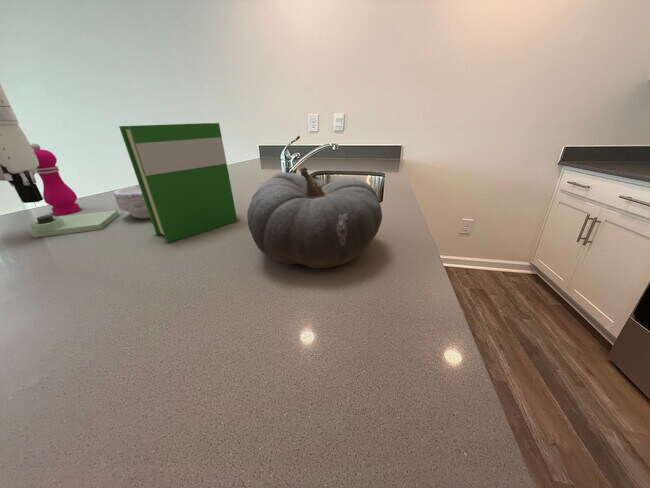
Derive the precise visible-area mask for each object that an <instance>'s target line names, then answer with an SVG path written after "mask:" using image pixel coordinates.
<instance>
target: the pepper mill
mask: <svg viewBox="0 0 650 488" xmlns="http://www.w3.org/2000/svg"><path fill="white" fill-rule="evenodd" d="M30 145H31V147H32V148H33V150H34V152H35V154H36V157H37V159H38V162H39V166H38V167H37V170H38V172H37V173H36V174H37V175H38V176H39V177H40V179H41V181H42V185H43V191H42V197H43V201H44V202H45V203H46V204H47V205H49V206H51V211H52V213H53V215H56V216H64V215H69V214H73V213H77V212H79V211H80V210H81V207H80V205H79V203H77V202H76V201H77V200H78V196H77V194H76V192H75V191H74V190H73V188H70V187H69V185H67V183H65V181H64V180H63V179H62V177H61V175H60V169H59V166H57V163H58V160H57V157H56V155H55V154H54V153H53V152H51V151H49V150H47V149H41V145H39V144H38V143H31V144H30Z"/></svg>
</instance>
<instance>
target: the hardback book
mask: <svg viewBox="0 0 650 488" xmlns="http://www.w3.org/2000/svg"><path fill="white" fill-rule="evenodd" d="M220 126H221V125H220V123H219V122H207V123H206V122H202V123H201V122H199V123H198V122H197V123H174V124H173V123H172V124H170V123H169V124H146V125H144V124H143V125H142V124H141V125H119V126H118V128H119V130H120V133H121V136H122V139H123V142H124V145H125V148H126V152H127V153H128V156H129V160H130V162H131V163H130V164H131V165H132V168H133V171H134V174H135V177H136V180H137V183H138V185H139V186H140V189H141V192H142V194H143V197H144V200H145V203H146V206H147V209H148V212H149V215H150V218H149V219H150V220H151V223H152V226H153V230H154V232H155V235H156V236H164V238H165V241H166V243H168V244H170V243H172V242H176V241H179V240H182V239H186V238H189V237H192V236H194V235H197V234H201V233H203V232H207V231H210V230H213V229H216V228H219V227H223V226H225V225H229V224H231V223H234V222H237V221H238V217H237V216H238V215H237V211H236V206H235V201H234V195H233V190H232V184H231V180H230V174H229V169H228V164H227V163H228V162H227V158H226V152H225V147H224V142H223V137H222V131H221V127H220Z"/></svg>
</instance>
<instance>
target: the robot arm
mask: <svg viewBox="0 0 650 488" xmlns="http://www.w3.org/2000/svg"><path fill="white" fill-rule="evenodd" d="M19 124H20V122H19V120H18V118H17V116H16V114H15V111H14V110H13V108H12V105H11V103H10V101H9V99H8V97H7V95H6V93H5V91H4V88H3V87H2V84H1V83H0V181H1V182H8V183H9V184H10V186H11V187H13V188H14V190H15V191H16V193H17V195H18V197H19V199H20V201H21V202H22V203H23V204H30V203H40V202H41V201H44V198H43V194H42V193H41V192H40V190H39V187H38V185H37V179H36V176H35V175H36V174H37V172H38V170H37V167H38V166H39V162H38V159H37V157H36V154H35V152H34V149H33V148H32V147H31V145H32V144H31V143H30V141H29V139H28V138H27V136H26V134H25V133H24V131H23V129H22V127H20V125H19Z"/></svg>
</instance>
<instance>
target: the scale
mask: <svg viewBox="0 0 650 488" xmlns="http://www.w3.org/2000/svg"><path fill="white" fill-rule="evenodd" d="M119 215H120V214H119V211H118V210H117V209H116V210H108V211H106V210H105V211H99V212H88V213H79V214H78V213H77V214H70V215H69V214H68V215H58V216H57V217H53V218H54V220H55V221H53V222H49V223H45V224H39V222H38V221H37V220H35V221H33V222H32V223H30V227H31V229H32V231H31V232H30V233H31V235H32V237H33V238H43V237H49V236H50V237H51V236H57V235H58V236H59V235H66V234H67V235H68V234H75V233H76V234H77V233H83V232H91V231H99V230H103V229H104V228H105V227H106V226H108V225H109V224H110V223H111V222H112V221H114V220H115V219H116V218H117V217H118V216H119Z"/></svg>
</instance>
